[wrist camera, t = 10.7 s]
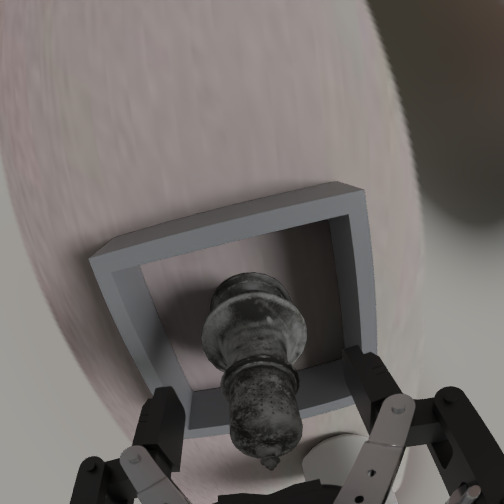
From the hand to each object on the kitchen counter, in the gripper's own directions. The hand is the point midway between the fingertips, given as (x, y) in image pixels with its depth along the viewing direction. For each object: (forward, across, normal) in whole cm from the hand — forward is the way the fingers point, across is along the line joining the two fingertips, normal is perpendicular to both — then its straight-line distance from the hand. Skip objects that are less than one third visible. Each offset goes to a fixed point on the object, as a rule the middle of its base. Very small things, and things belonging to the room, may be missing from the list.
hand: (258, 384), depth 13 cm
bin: (+7, 0, 0) cm, 7 cm away
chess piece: (+7, 0, 0) cm, 7 cm away
